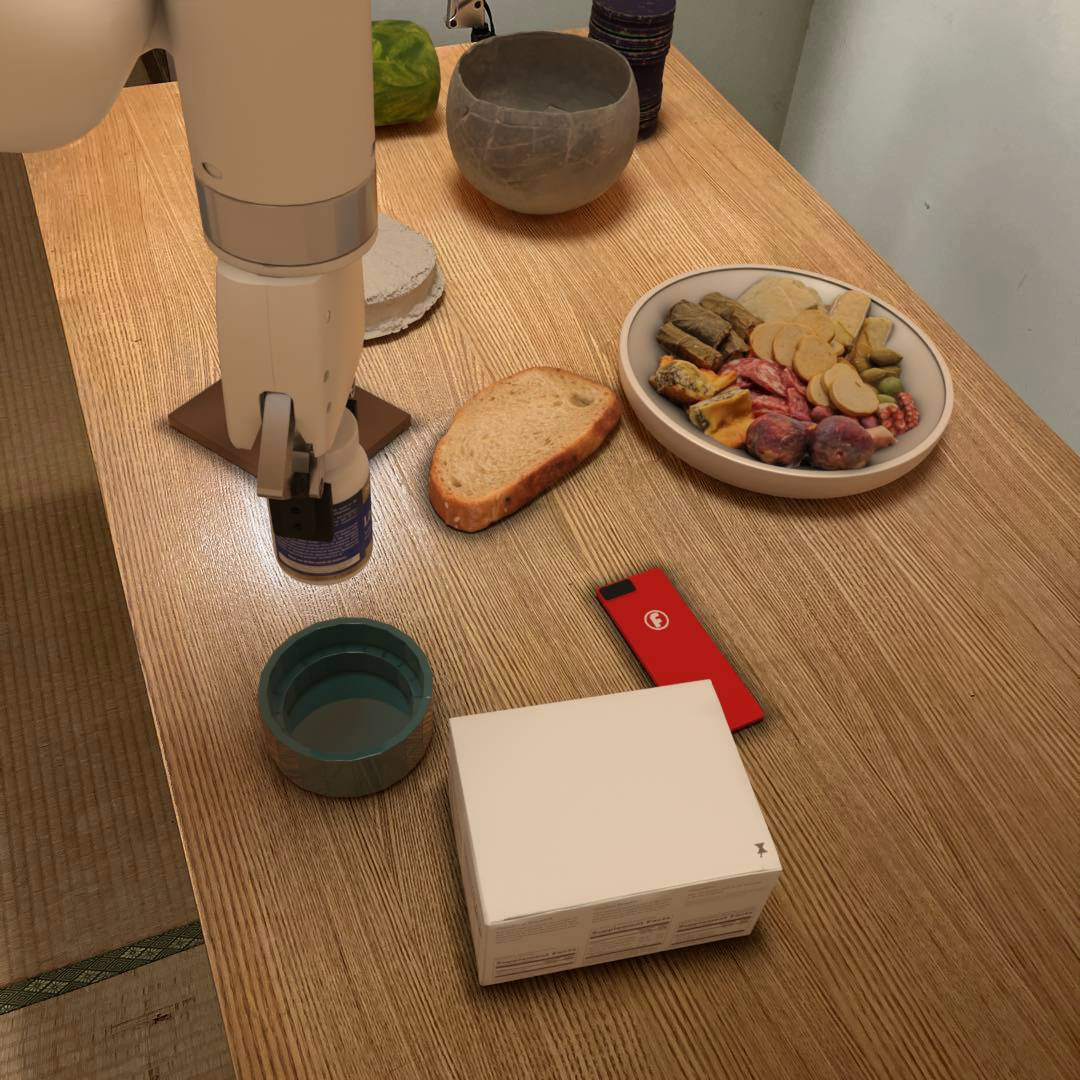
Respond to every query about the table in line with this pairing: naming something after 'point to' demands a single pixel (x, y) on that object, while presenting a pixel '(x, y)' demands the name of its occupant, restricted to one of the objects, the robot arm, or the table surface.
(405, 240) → the grey pie
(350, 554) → the pill bottle
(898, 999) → the table surface
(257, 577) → the table surface
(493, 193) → the bowl
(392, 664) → the teal bowl
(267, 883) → the table surface
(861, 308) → the bowl
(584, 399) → the bread slice
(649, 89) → the dark purple ridged cylinder
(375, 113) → the lettuce
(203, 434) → the walnut board
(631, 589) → the electronic device
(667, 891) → the supplement box
